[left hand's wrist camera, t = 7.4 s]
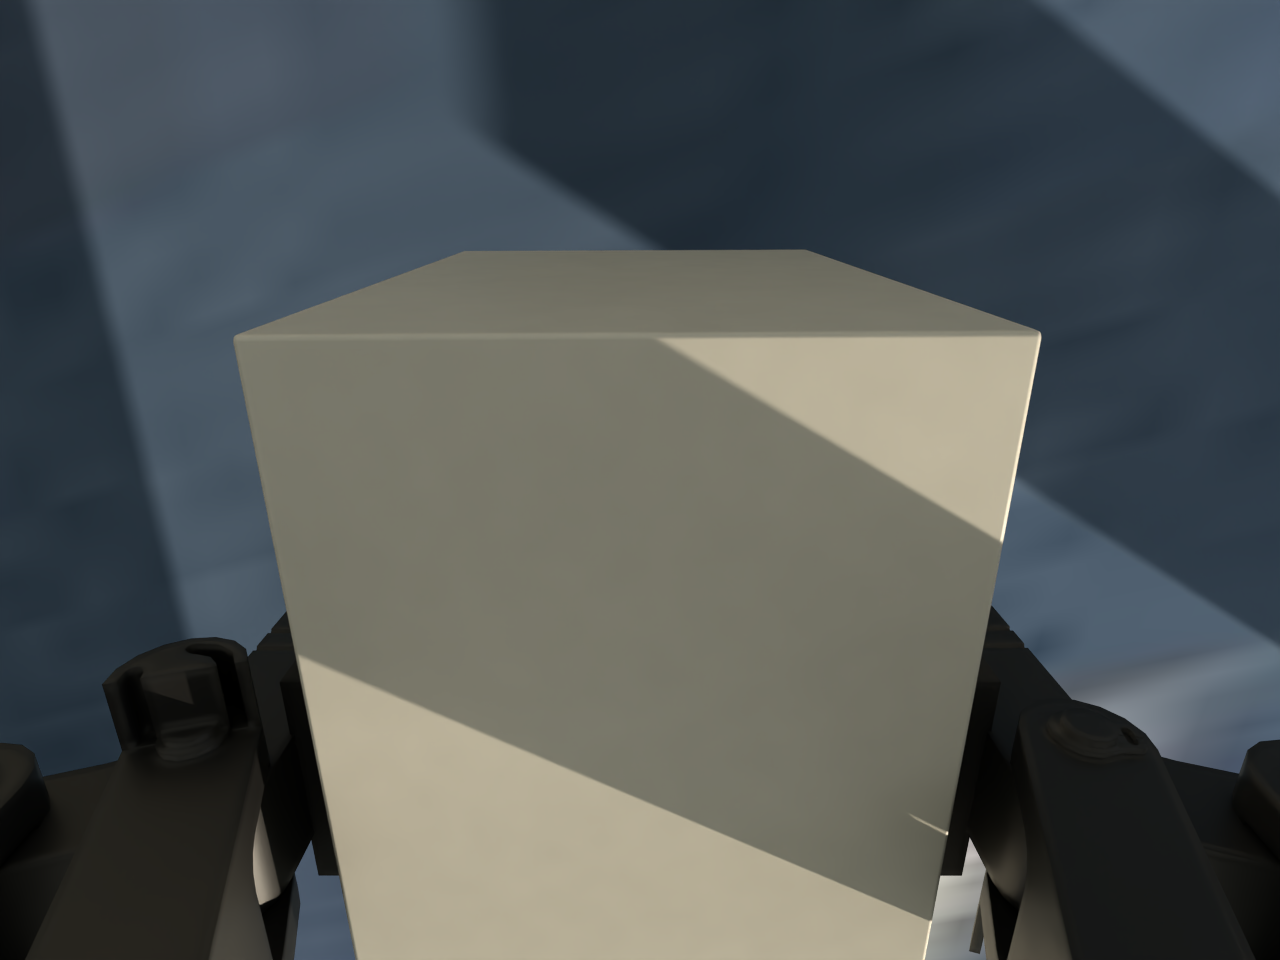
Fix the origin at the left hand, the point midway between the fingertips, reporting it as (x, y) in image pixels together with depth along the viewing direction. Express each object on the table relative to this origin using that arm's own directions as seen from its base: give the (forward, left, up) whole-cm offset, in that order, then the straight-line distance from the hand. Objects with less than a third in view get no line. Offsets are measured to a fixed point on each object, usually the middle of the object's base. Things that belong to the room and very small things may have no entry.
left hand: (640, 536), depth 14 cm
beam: (+8, +26, -1) cm, 27 cm away
